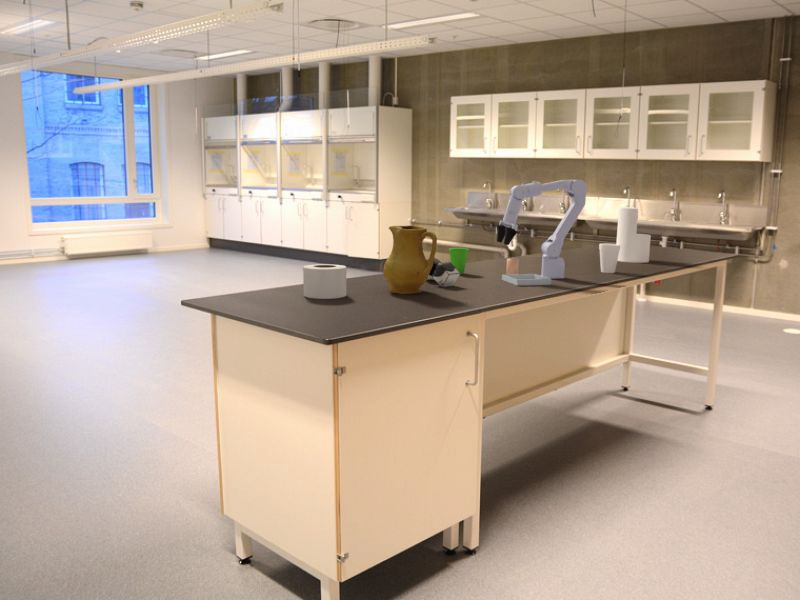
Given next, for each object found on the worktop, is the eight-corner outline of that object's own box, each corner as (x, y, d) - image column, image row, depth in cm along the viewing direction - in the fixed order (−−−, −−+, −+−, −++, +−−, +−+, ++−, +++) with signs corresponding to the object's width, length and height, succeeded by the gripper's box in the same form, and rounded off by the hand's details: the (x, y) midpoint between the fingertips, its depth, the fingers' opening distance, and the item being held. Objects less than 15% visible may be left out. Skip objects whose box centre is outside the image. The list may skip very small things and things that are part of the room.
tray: (534, 279, 316) (534, 274, 316) (551, 284, 302) (551, 279, 301) (501, 280, 312) (502, 274, 312) (516, 285, 298) (517, 279, 297)
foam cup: (620, 271, 347) (622, 244, 344) (615, 274, 339) (617, 245, 337) (601, 270, 352) (602, 243, 349) (594, 272, 344) (596, 244, 342)
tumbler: (515, 276, 326) (515, 258, 324) (520, 277, 321) (521, 259, 319) (504, 276, 324) (505, 258, 323) (509, 278, 319) (509, 259, 318)
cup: (468, 272, 334) (469, 248, 332) (468, 275, 325) (468, 250, 323) (448, 271, 335) (449, 247, 333) (447, 274, 326) (448, 249, 324)
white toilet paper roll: (299, 293, 270) (298, 263, 268) (339, 291, 276) (339, 262, 274) (309, 300, 256) (309, 269, 254) (351, 298, 261) (351, 268, 260)
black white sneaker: (415, 279, 309) (416, 256, 308) (437, 279, 313) (437, 255, 311) (439, 289, 286) (440, 263, 284) (462, 288, 290) (463, 263, 288)
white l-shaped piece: (617, 261, 387) (621, 208, 382) (613, 258, 404) (616, 206, 399) (651, 263, 384) (655, 209, 379) (646, 259, 401) (650, 207, 396)
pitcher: (405, 285, 290) (407, 222, 285) (440, 293, 278) (443, 228, 272) (373, 290, 279) (375, 225, 273) (408, 300, 266) (410, 231, 260)
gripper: (497, 208, 322) (488, 238, 323) (510, 212, 308) (501, 243, 310) (511, 213, 324) (502, 242, 326) (525, 216, 310) (515, 247, 312)
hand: (502, 243), depth 318 cm, fingers open, 7 cm apart
